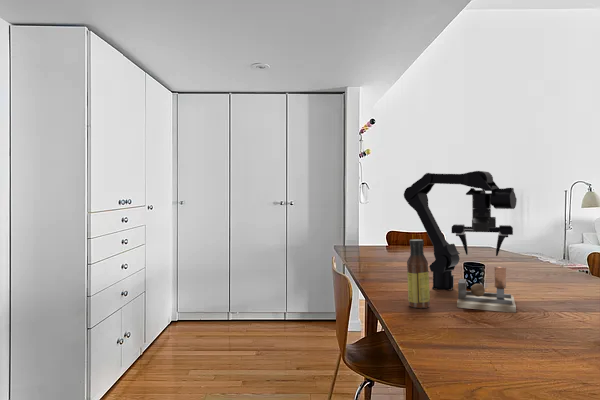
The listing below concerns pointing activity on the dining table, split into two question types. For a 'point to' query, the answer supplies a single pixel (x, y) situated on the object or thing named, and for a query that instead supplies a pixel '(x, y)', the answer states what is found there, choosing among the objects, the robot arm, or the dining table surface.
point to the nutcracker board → (484, 300)
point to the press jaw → (500, 281)
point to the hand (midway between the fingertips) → (481, 255)
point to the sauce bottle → (418, 276)
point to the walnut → (477, 290)
